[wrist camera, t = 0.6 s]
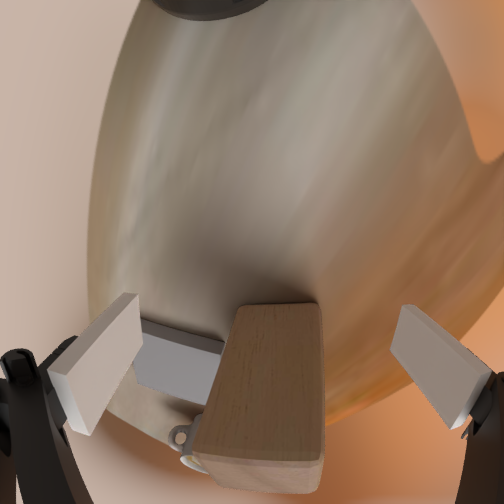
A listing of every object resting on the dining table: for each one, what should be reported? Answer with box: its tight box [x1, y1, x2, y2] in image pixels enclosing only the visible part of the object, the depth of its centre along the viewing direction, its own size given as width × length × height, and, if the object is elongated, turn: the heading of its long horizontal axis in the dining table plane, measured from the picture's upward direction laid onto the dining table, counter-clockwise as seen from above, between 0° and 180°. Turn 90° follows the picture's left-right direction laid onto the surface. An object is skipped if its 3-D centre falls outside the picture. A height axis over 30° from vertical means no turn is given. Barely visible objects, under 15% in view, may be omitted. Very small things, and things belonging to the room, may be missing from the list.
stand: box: [133, 319, 225, 405], centre depth 40 cm, size 14×14×2 cm
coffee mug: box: [168, 413, 208, 474], centre depth 44 cm, size 13×10×10 cm
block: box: [192, 303, 325, 494], centre depth 26 cm, size 10×10×20 cm
